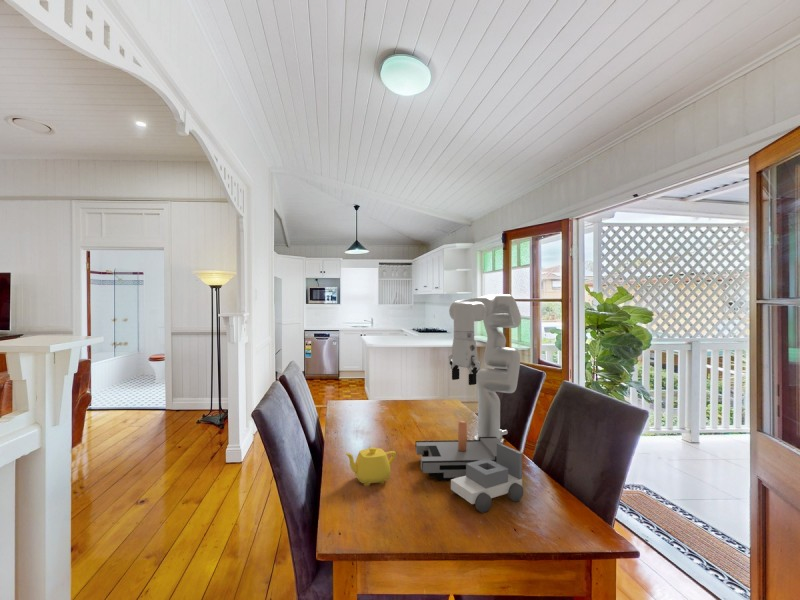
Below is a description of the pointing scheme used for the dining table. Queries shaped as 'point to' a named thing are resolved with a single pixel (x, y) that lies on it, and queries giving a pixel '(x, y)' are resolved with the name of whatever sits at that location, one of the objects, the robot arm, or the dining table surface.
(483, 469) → the ramp trolley
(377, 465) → the teapot
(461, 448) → the pin
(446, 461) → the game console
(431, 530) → the dining table surface
